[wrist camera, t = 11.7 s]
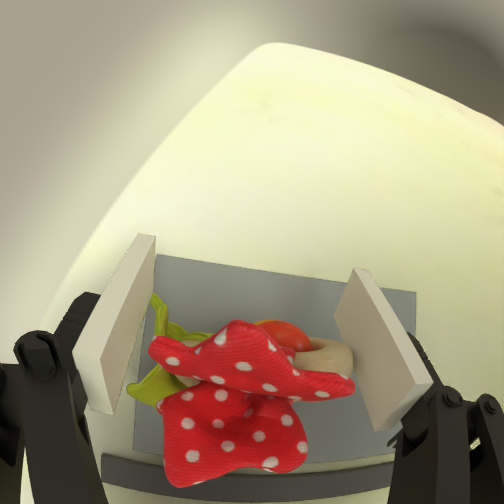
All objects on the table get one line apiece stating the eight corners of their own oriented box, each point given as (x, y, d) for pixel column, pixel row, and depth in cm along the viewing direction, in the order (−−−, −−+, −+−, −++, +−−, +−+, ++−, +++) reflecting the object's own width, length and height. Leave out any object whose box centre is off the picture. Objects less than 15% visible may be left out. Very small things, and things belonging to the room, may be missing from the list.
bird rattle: (255, 295, 19) (103, 293, 14) (424, 244, 10) (182, 199, 5) (264, 395, 17) (113, 418, 12) (441, 409, 8) (220, 544, 3)
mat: (431, 295, 21) (435, 294, 20) (409, 478, 16) (412, 480, 16) (126, 250, 18) (125, 248, 17) (103, 478, 13) (101, 481, 13)
